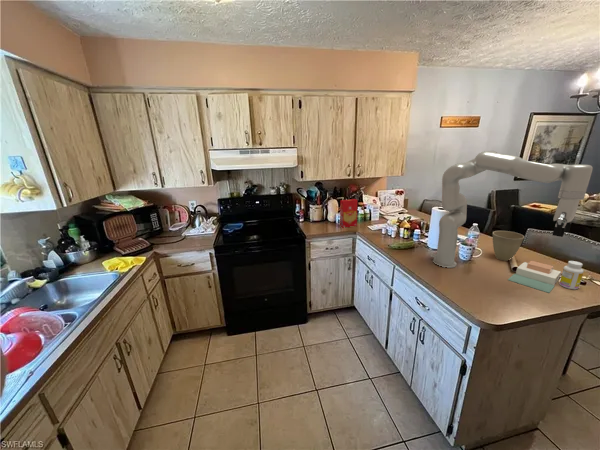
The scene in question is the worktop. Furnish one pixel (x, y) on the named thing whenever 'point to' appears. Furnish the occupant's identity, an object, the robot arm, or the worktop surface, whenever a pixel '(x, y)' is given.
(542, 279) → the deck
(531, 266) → the tile
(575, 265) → the supplement bottle
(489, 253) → the worktop surface
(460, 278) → the worktop surface
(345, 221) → the food packaging
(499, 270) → the worktop surface
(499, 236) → the plant pot
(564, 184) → the robot arm
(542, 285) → the mat
